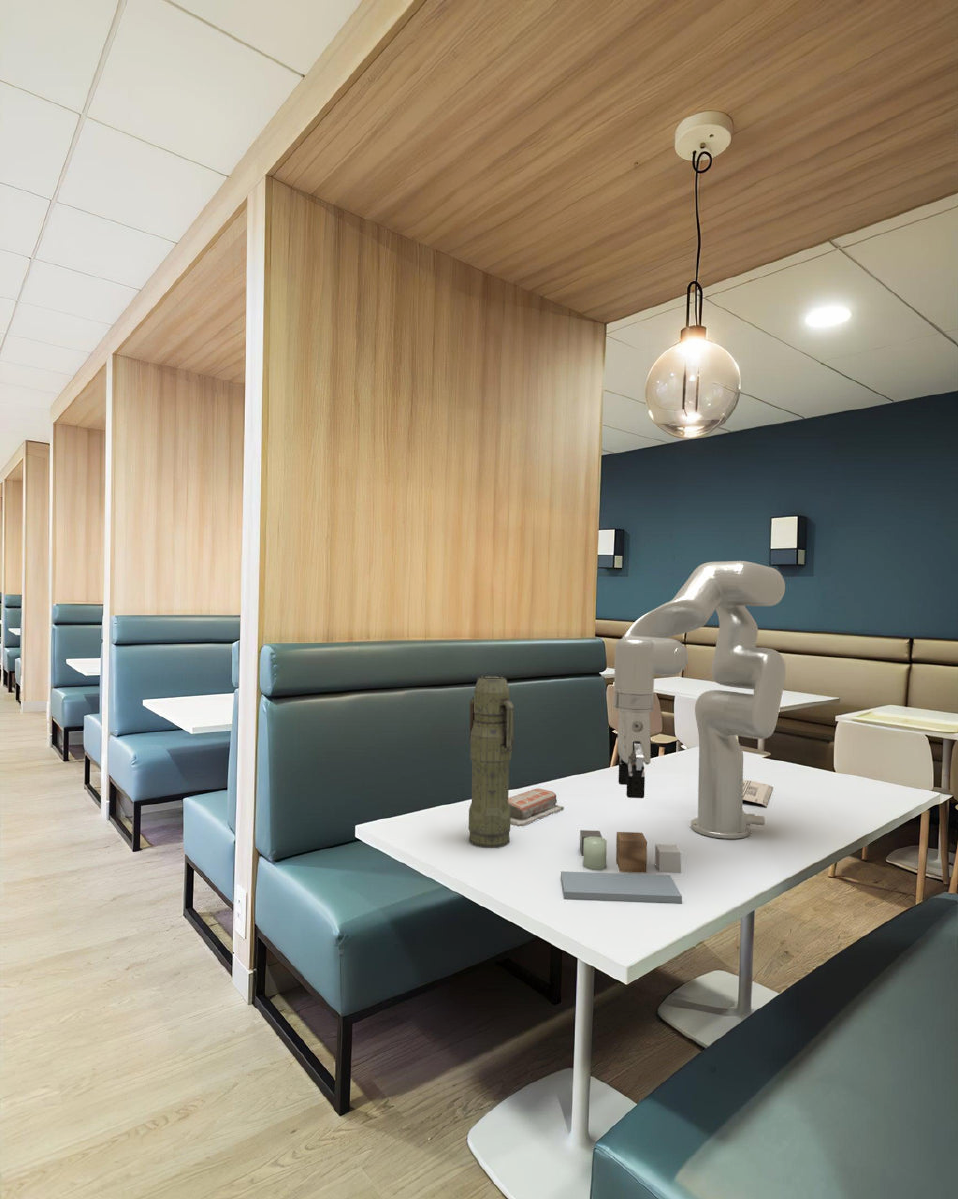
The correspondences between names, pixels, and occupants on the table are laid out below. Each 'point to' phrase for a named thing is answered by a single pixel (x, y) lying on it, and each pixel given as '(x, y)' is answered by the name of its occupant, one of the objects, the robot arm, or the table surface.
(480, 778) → the thermos
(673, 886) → the slate board
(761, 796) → the newspaper
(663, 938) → the table surface
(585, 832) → the dark metal block
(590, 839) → the sage plastic cylinder
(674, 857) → the grey plastic cube
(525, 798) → the packaged product
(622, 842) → the walnut block
